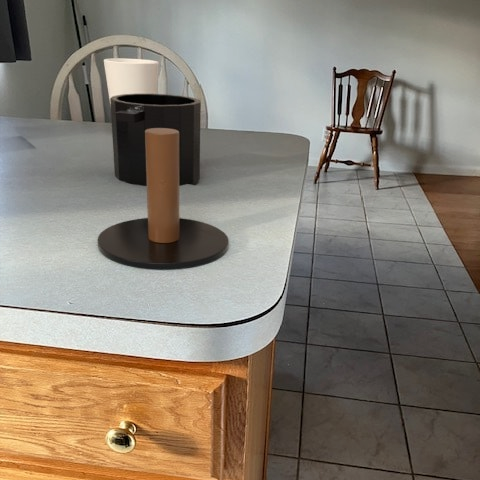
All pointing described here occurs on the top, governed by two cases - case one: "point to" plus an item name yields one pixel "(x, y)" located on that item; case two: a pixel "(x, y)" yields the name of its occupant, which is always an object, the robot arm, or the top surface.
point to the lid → (162, 218)
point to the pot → (154, 116)
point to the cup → (131, 76)
